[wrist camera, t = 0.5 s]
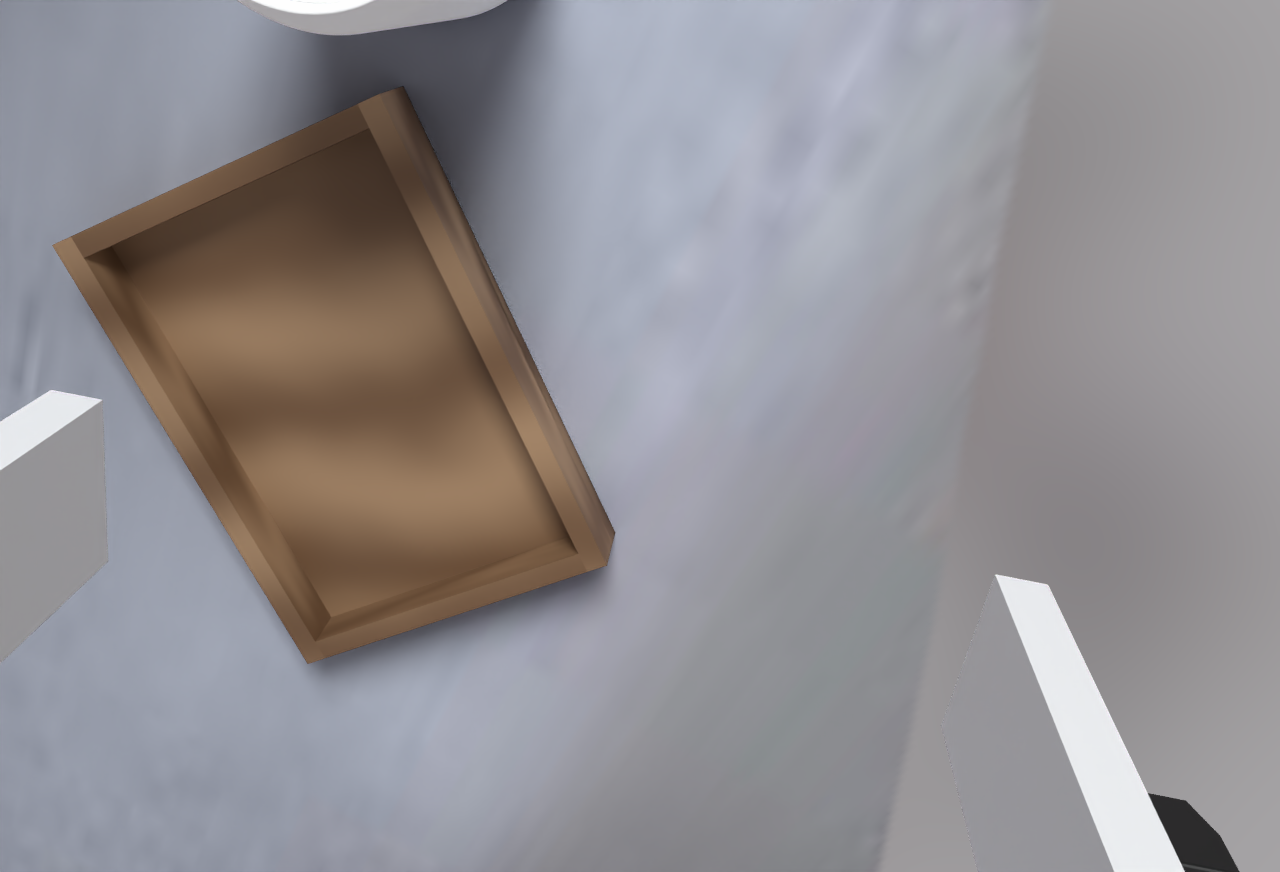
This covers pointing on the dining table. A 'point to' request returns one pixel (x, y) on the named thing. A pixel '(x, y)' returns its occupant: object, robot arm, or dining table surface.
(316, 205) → the walnut tray
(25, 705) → the dining table surface
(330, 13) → the beverage can
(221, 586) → the dining table surface
